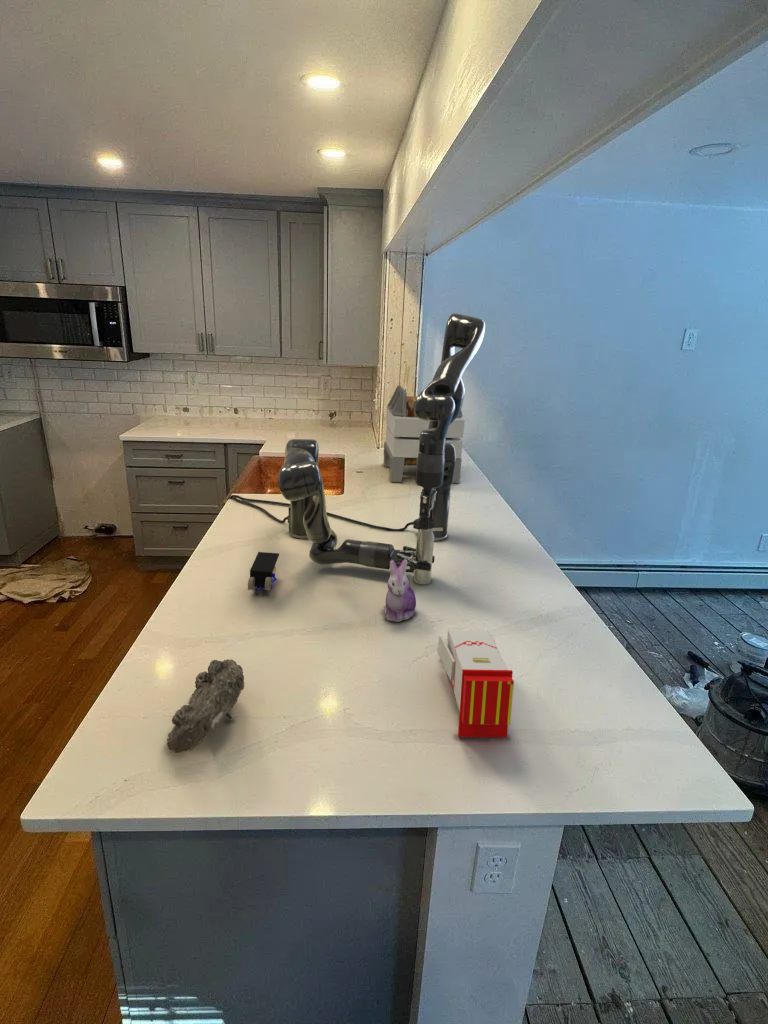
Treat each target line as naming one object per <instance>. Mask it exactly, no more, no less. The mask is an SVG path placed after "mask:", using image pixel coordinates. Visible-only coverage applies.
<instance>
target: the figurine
mask: <svg viewBox="0 0 768 1024" xmlns="http://www.w3.org/2000/svg"><path fill="white" fill-rule="evenodd" d="M406 567H407V559H404V560H403V561H402V563H401V565H400V566H399V567H397V566H396V564H395V562H394V561H393V560H391V561H390V569H389V570H390V576H389V578H388V579H387V589H388V591H387V592H386V594H385V595H386V596H385V607H384V615H385V616H386V620H387V621H391V622H395V623H400V622H402V621H406V620H409V619H410V618H411V617H413V616H414V615H415V610H416V606H417V597H416V593H415V591H414V590H413V587H411V586H410V582H409V579H408V577H407V574H406V572H405V571H406Z"/></svg>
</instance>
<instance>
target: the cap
mask: <svg viewBox="0 0 768 1024" xmlns="http://www.w3.org/2000/svg"><path fill="white" fill-rule="evenodd" d="M420 523H421V518H420V519H419V527H420ZM434 526H435V520H434V519H433V518H429V526H428V529H432V528H434Z"/></svg>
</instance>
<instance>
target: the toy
mask: <svg viewBox="0 0 768 1024" xmlns="http://www.w3.org/2000/svg"><path fill="white" fill-rule="evenodd" d="M446 640H447V643H446V641H445V639H444V636H443V635H442V634H439V637H438V646H437V656H438V657H439V659H440V661H441V663H442V666H443V668H444V670H445V672H446V674H447V677H448V679H449V681H450V684H451V687H452V690H453V693H454V697H455V701H456V705H457V708H458V711H459V714H458V715H459V716H458V730H457V731H458V732H457V737H458V738H508V731H509V726H510V725H511V717H512V707H513V697H514V696H513V695H514V684H515V680H514V679H513V673H514V671H513V670H512V669H508V667H507V665H506V662H505V661H504V659H503V658H502V655H501V653H500V651H499V649H498V647H497V643H496V639H495V637H494V635H493V634H491V632H490V631H489V629H467V628H466V629H465V628H463V629H461V628H460V629H459V628H448V630H447V639H446Z"/></svg>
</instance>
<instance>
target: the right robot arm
mask: <svg viewBox="0 0 768 1024" xmlns="http://www.w3.org/2000/svg"><path fill="white" fill-rule="evenodd" d="M485 331H486V323H485V321H484V320H483V319H482V318H480V317H475V316H471V315H466V314H461V313H456V312H453V313H451V314H450V315H449V316H448V318H447V321H446V325H445V330H444V336H443V343H442V351H441V352H442V353H441V360H440V364H439V365H438V366H437V369H436V371H435V372H434V376H433V377H432V379H431V381H430V382H429V383H428V384H427V385H426V386H425V387H424V389H423V390H422V391H421V392H420V393H419V394H418V397H417V396H416V397H417V399H416V401H415V405H414V412H415V414H416V416H417V417H418V418H419V419H421V420H428V421H430V422H429V426H428V429H425V430H423V431H421V433H420V437H419V452H418V457H417V466H416V468H415V469H416V470H415V484H416V485H417V486H419V487H421V488H422V489H421V491H420V495H419V499H420V500H419V512H418V518H416V519H414V520H413V521H411V522H407V523H406V524H405V526H403V527H401V528H391V527H386V526H380V525H375V524H371V523H368V522H363V521H359V520H357V519H352V518H349V517H345V516H342V515H338V514H335V513H331V512H328V511H326V513H327V516H330V517H334V518H336V519H340V520H343V521H347V522H351V523H353V524H358V525H362V526H365V527H370V528H373V529H377V530H383V531H388V532H404V531H406V530H407V529H408V528H409V527H410V526H413V527H412V528H413V529H415V530H417V533H418V532H419V530H420V529H423V530H428V526H429V518H433V519H434V520H435V526H434V528H432V531H433V535H434V542H440V541H444V540H446V539H447V538H448V525H449V517H450V516H449V514H450V504H451V494H452V493H451V491H452V485H453V483H452V482H453V475H454V468H455V461H456V452H455V448H454V446H453V445H452V444H450V443H445V440H446V435H447V431H448V428H449V426H450V425H451V423H452V422H453V421H454V420H455V419H456V418H457V416H458V415H459V413H460V411H461V412H462V407H463V403H464V399H465V393H466V388H465V384H464V382H463V378H462V377H463V375H464V372H465V371H466V369H468V367H469V365H470V363H471V362H472V361H473V358H474V357H475V356H476V354H477V352H478V350H479V349H480V347H481V344H482V343H483V339H484V337H485ZM455 348H458V349H460V350H459V351H457V352H456V353H455ZM231 495H232V496H231ZM231 495H230V496H229V497H228V498H227V499H229V500H231V499H234V498H233V496H235V497H236V498H237V499H239V500H242V501H245V502H251V503H253V502H254V503H263V504H272V505H279V506H286V507H289V506H290V503H288V502H281V501H275V500H274V501H273V500H265V499H256V498H255V499H254V498H246V497H242V496H240V495H238V494H231ZM420 518H421V523H420V527H419V519H420Z"/></svg>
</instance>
